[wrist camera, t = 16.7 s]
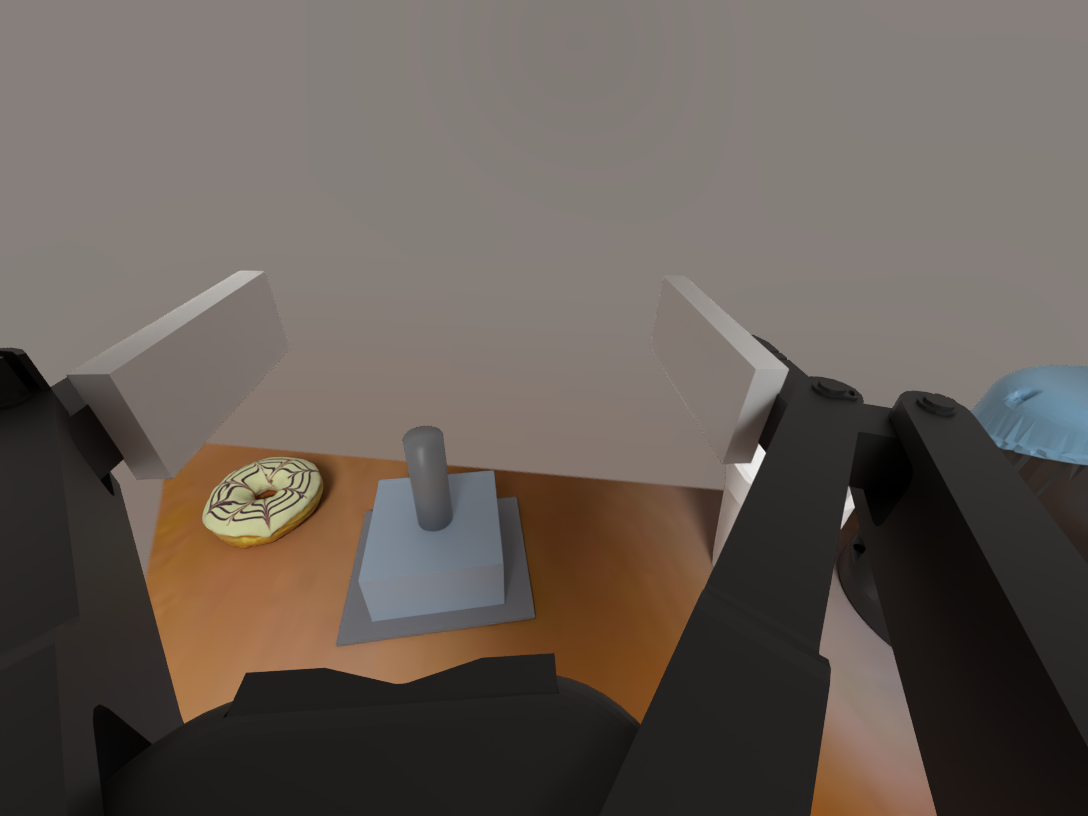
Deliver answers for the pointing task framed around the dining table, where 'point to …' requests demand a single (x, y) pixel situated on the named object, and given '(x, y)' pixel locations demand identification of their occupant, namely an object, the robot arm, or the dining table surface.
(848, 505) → the foam cup
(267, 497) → the decorated donut
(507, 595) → the mat
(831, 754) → the dining table surface
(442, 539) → the cover
